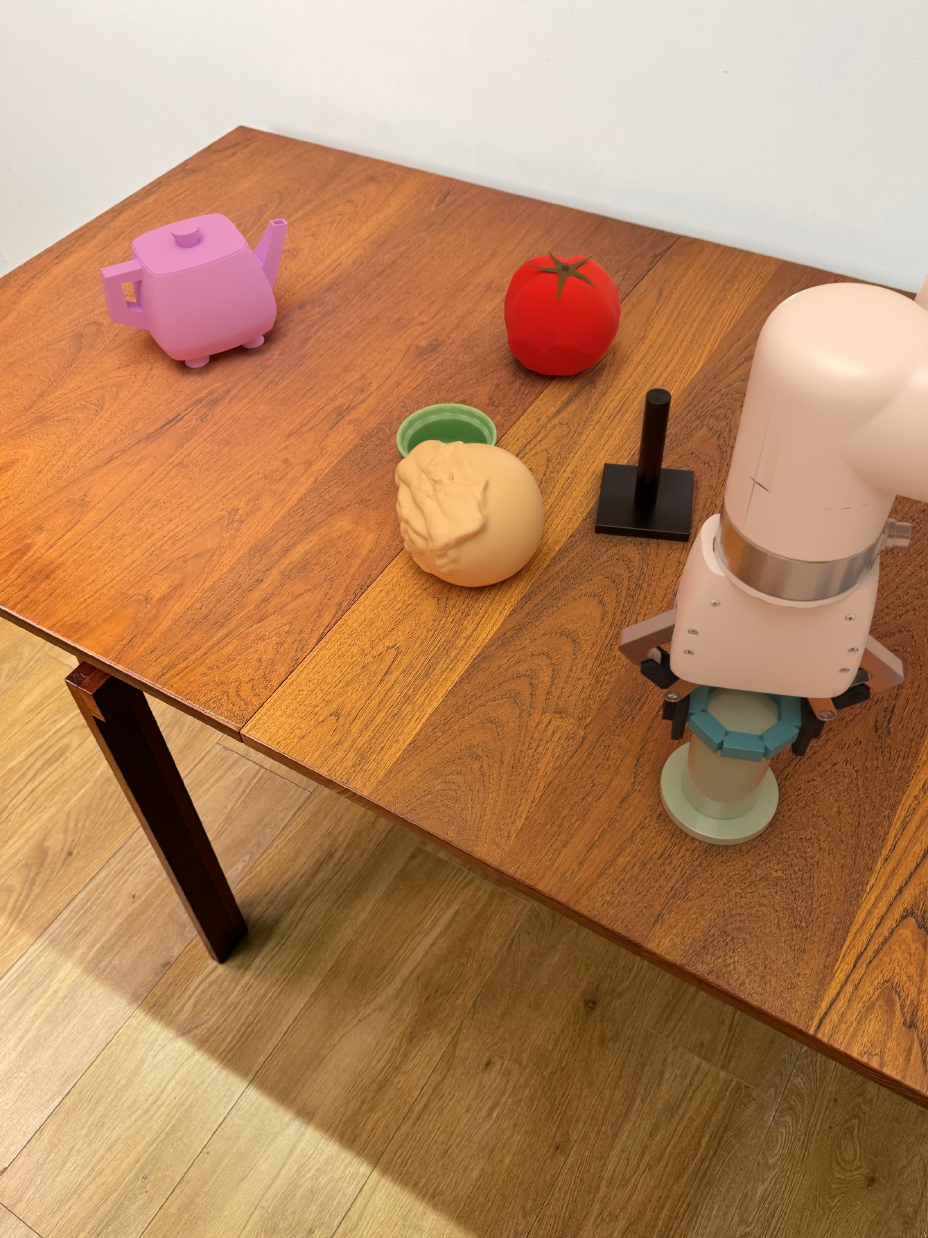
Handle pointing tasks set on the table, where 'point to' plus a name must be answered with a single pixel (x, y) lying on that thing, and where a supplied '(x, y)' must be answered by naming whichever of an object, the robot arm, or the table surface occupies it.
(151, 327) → the teapot
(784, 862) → the table surface
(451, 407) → the ramekin
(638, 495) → the black peg stand
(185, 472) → the table surface
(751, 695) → the ring stand
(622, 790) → the table surface
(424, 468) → the sculpture
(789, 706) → the ring
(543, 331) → the tomato
